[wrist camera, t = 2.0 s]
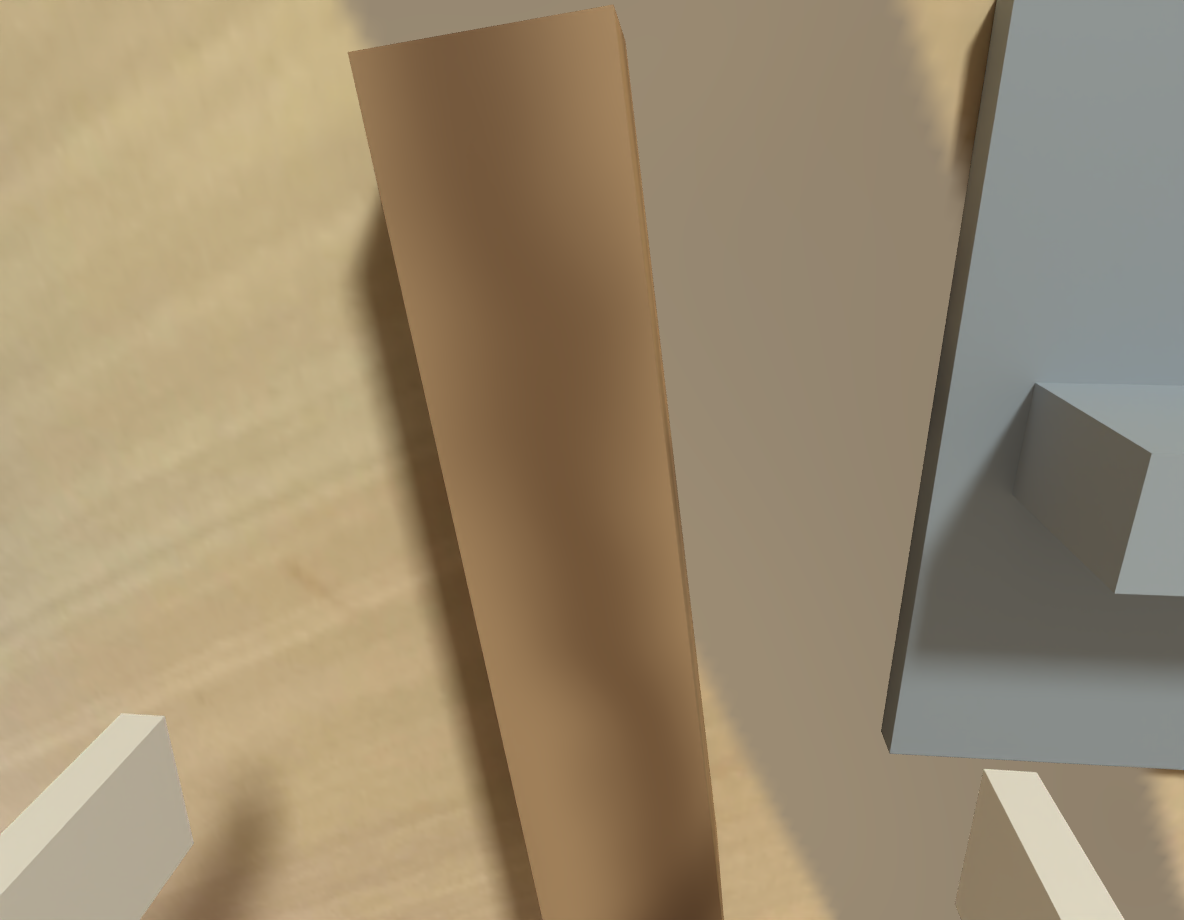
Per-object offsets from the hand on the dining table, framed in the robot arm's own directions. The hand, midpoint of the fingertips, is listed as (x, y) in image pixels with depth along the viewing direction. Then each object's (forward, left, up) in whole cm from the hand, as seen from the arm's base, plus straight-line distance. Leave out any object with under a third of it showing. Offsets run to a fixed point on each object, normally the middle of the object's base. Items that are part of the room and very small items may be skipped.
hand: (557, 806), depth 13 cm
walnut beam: (0, 0, -11) cm, 11 cm away
